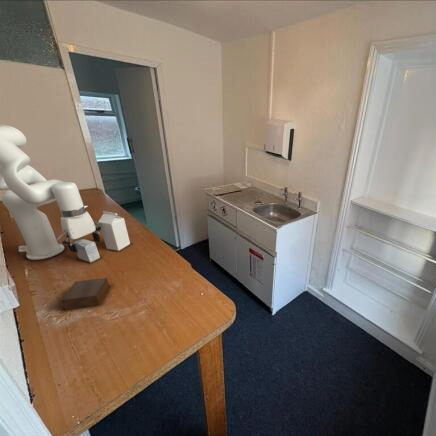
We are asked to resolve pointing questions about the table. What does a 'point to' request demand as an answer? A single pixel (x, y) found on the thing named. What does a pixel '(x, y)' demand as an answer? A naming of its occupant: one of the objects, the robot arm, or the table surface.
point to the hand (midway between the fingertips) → (86, 246)
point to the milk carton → (114, 231)
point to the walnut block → (85, 293)
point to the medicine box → (87, 250)
